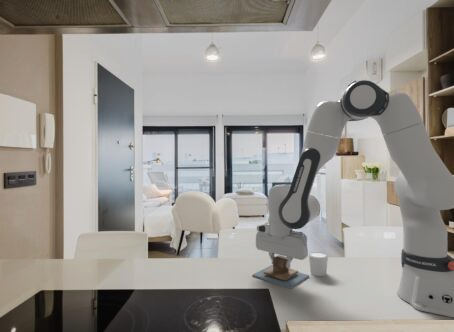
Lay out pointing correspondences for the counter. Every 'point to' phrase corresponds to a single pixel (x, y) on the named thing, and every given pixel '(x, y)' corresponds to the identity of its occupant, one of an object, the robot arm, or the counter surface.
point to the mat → (286, 283)
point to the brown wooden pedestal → (280, 269)
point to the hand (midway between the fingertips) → (280, 266)
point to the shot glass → (318, 263)
